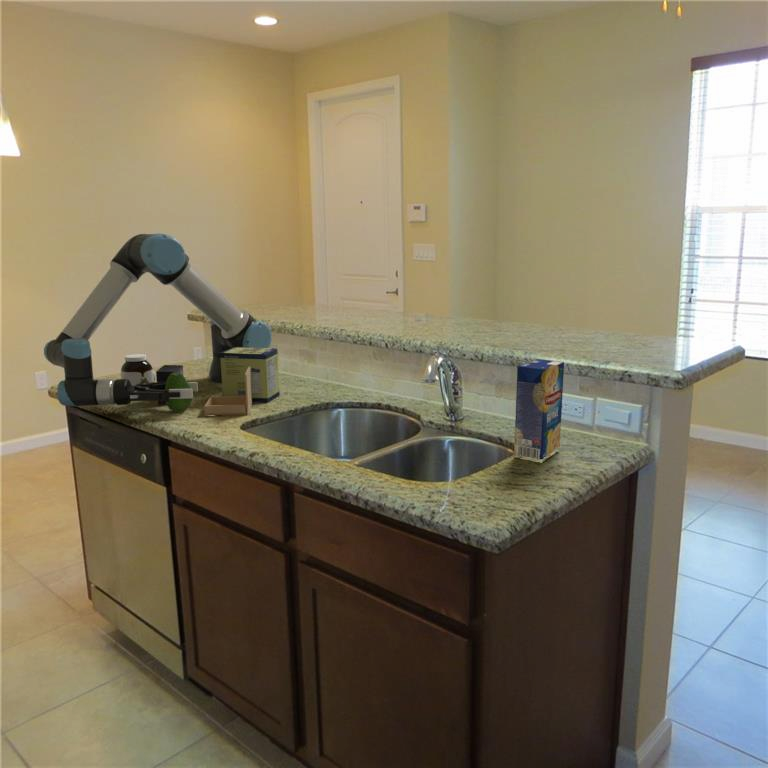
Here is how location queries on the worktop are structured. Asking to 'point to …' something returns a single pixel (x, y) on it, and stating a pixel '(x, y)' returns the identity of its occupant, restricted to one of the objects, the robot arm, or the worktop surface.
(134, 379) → the spread jar
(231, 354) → the protein box
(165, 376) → the small box
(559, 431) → the blue cracker box
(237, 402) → the mailer box
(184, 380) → the fruit
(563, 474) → the worktop surface
